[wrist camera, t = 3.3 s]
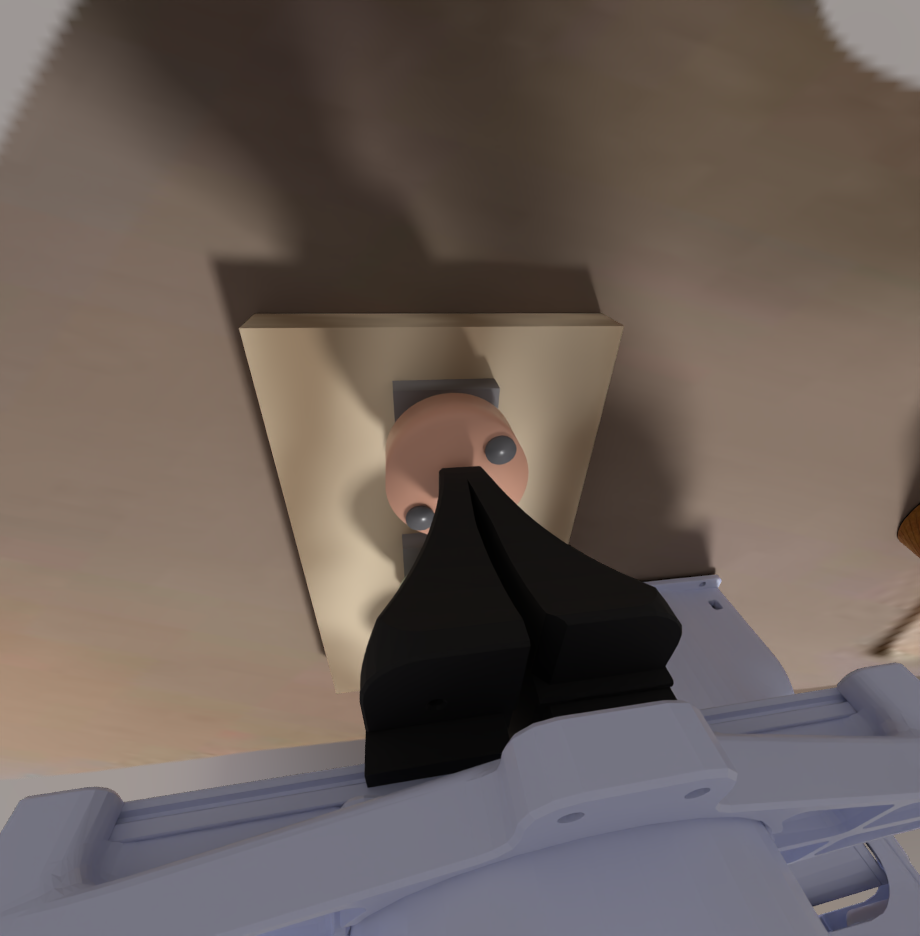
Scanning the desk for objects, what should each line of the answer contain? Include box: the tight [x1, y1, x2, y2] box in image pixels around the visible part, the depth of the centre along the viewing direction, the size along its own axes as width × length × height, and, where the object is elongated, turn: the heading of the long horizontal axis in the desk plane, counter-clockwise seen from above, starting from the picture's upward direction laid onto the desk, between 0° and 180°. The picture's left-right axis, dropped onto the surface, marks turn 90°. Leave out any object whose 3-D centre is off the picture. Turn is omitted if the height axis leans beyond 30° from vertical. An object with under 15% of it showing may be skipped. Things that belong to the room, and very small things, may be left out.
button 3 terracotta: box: [385, 393, 529, 534], centre depth 14 cm, size 5×5×2 cm
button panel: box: [239, 313, 624, 694], centre depth 22 cm, size 14×24×3 cm, turn 178°
